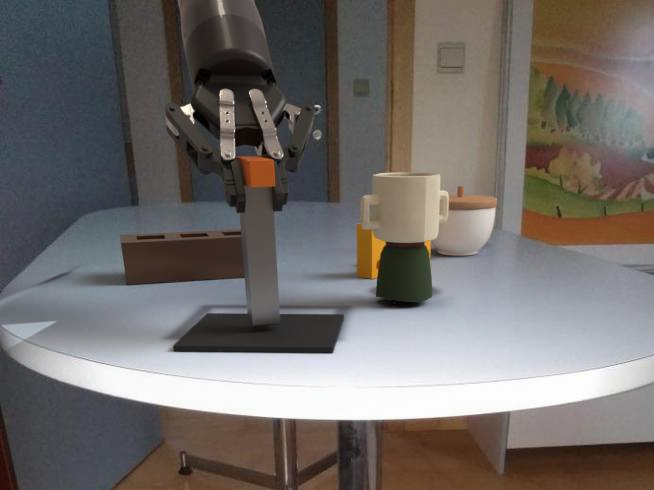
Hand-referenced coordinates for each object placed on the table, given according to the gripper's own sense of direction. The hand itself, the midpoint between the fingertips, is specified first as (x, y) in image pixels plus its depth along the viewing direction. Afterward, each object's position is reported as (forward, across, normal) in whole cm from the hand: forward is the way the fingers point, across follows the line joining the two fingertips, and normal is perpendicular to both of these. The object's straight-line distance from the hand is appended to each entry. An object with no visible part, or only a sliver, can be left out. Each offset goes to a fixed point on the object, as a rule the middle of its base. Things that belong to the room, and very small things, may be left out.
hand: (260, 205), depth 61 cm
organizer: (-16, -3, +32) cm, 36 cm away
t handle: (+6, 0, +9) cm, 11 cm away
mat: (+7, 0, +10) cm, 12 cm away
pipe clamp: (-12, +22, +29) cm, 38 cm away
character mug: (+1, +17, +16) cm, 23 cm away
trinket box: (-19, +37, +36) cm, 55 cm away
